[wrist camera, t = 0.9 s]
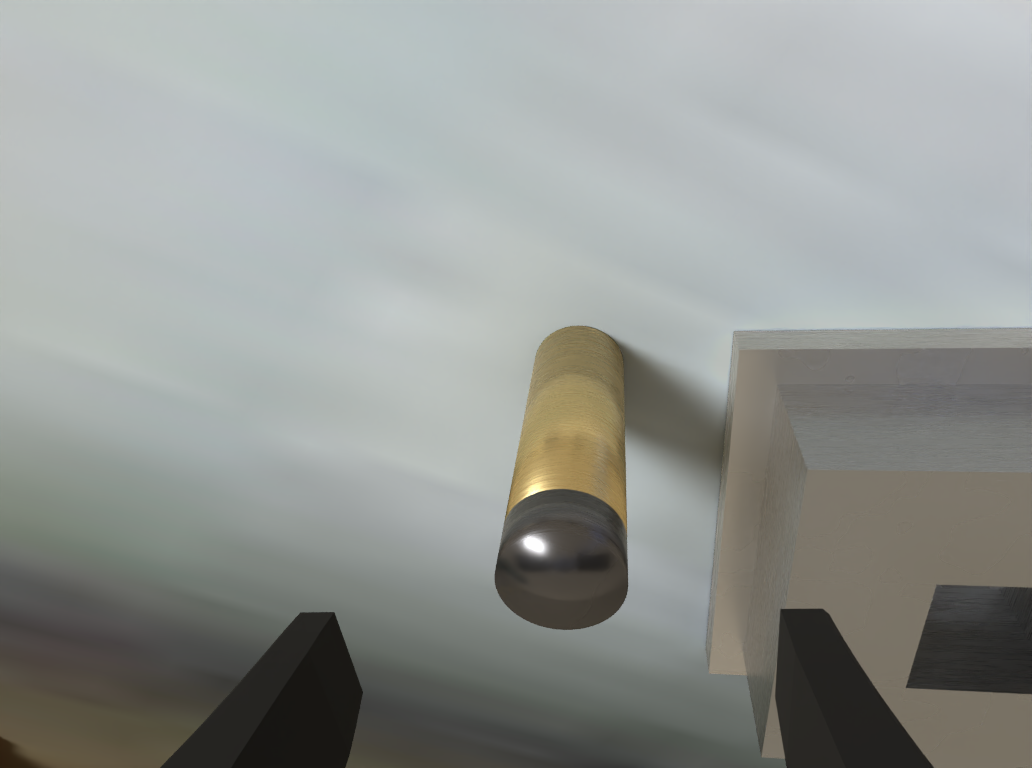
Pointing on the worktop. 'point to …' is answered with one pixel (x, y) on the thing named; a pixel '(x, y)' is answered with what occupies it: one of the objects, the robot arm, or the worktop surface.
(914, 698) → the chuck block
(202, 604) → the worktop surface
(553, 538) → the brass cylinder rod
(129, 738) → the worktop surface
